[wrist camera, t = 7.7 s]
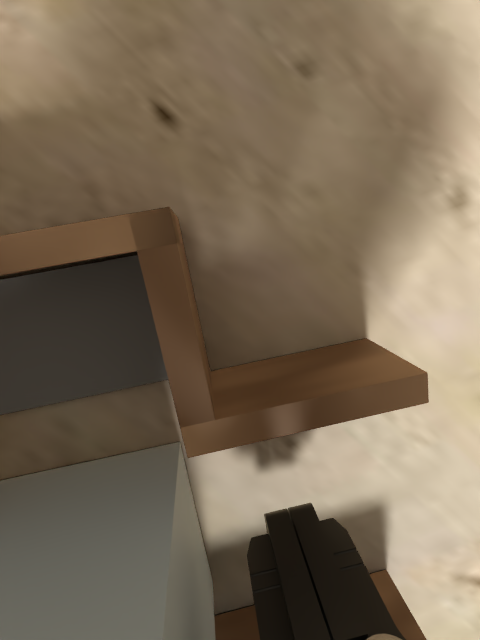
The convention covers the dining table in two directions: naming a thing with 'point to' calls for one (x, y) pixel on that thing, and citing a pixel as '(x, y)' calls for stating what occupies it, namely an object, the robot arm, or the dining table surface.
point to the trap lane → (238, 381)
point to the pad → (76, 334)
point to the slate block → (105, 552)
